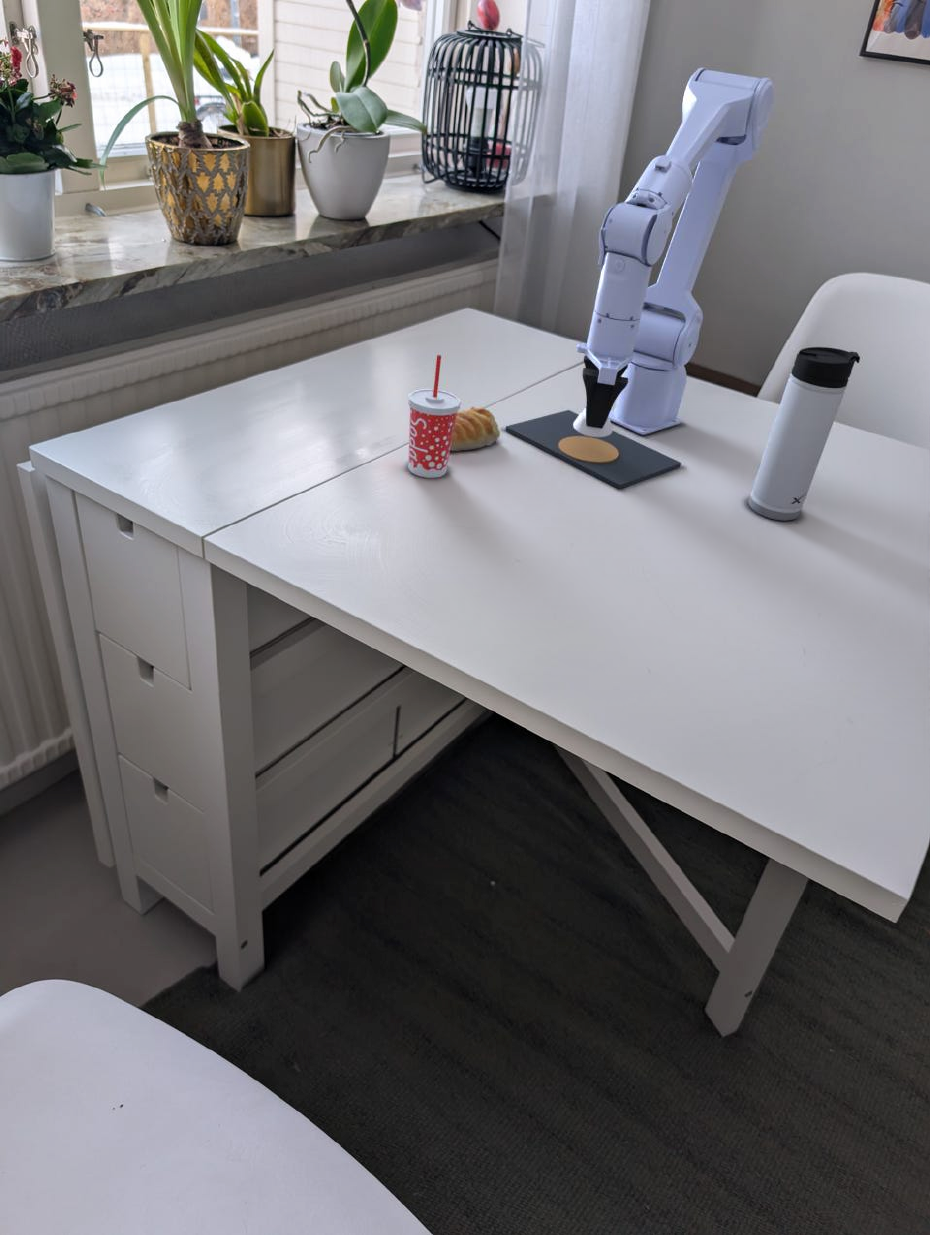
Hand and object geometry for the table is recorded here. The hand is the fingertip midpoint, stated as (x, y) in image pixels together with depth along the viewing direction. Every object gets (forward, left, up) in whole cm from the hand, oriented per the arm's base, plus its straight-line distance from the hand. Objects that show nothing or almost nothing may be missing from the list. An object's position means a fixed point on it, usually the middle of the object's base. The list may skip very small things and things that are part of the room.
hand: (594, 420), depth 115 cm
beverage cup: (+22, -7, -5) cm, 24 cm away
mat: (-2, -1, -5) cm, 5 cm away
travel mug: (-9, +23, -5) cm, 25 cm away
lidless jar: (0, 0, -2) cm, 2 cm away
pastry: (+12, -11, -5) cm, 17 cm away
